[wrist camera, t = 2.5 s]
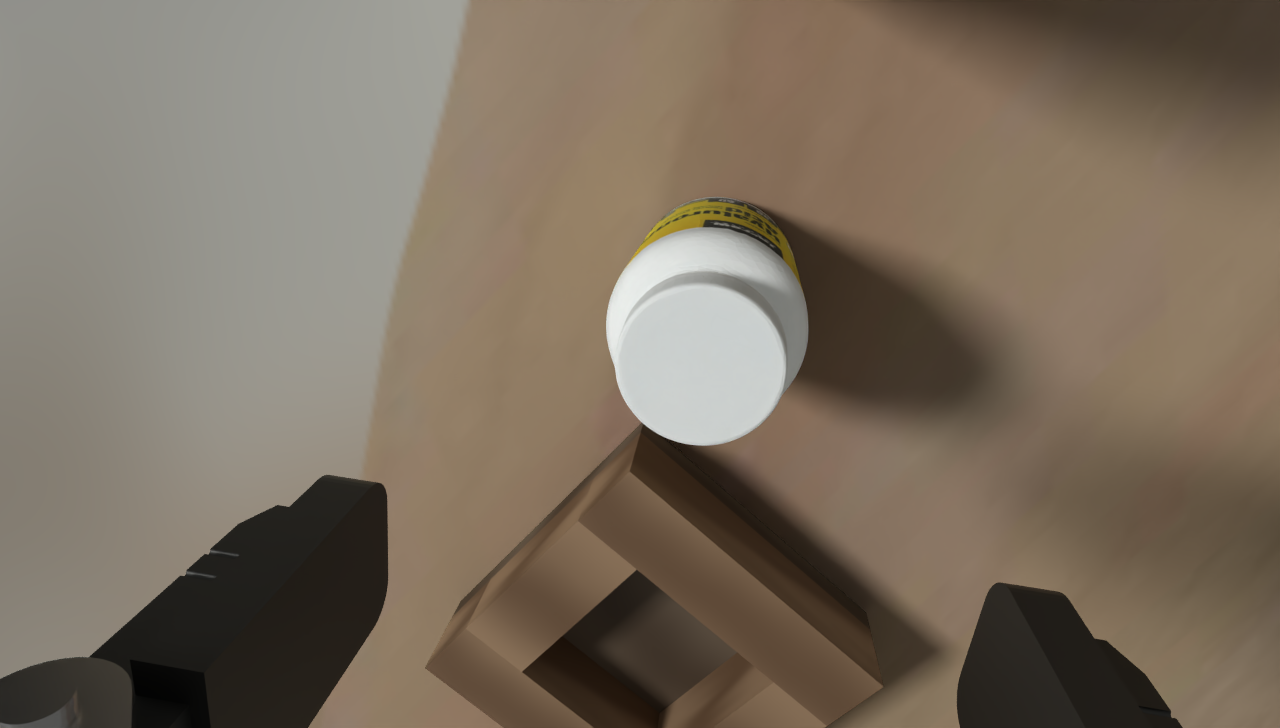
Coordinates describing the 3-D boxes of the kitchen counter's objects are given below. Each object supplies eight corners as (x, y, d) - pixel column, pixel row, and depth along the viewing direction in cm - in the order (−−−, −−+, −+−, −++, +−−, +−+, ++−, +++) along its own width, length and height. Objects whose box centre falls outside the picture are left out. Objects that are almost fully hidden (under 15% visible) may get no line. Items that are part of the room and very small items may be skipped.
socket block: (643, 420, 29) (629, 471, 25) (866, 612, 30) (883, 686, 27) (460, 601, 33) (424, 667, 29) (666, 761, 34) (657, 844, 31)
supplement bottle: (797, 191, 25) (829, 254, 16) (791, 346, 27) (816, 481, 18) (635, 193, 26) (578, 254, 17) (639, 344, 28) (590, 473, 19)
